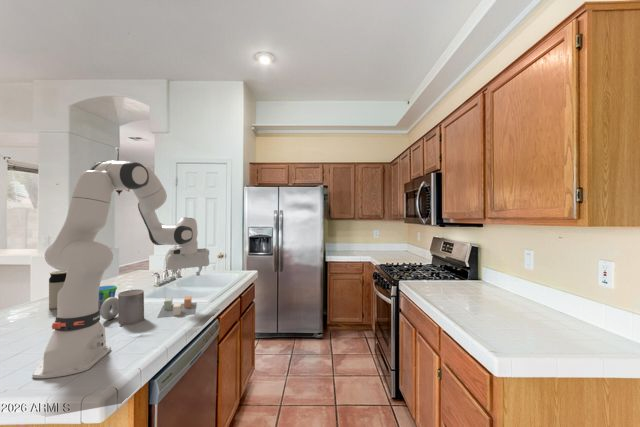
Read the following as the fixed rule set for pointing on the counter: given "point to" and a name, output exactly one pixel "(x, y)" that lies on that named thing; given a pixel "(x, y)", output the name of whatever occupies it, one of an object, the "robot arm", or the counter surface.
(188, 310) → the baseplate
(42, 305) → the counter surface
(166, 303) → the sage brick
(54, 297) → the travel mug
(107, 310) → the donut
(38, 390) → the counter surface
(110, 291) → the snack cup
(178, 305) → the cream brick
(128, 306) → the pillar candle
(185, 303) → the terracotta brick
